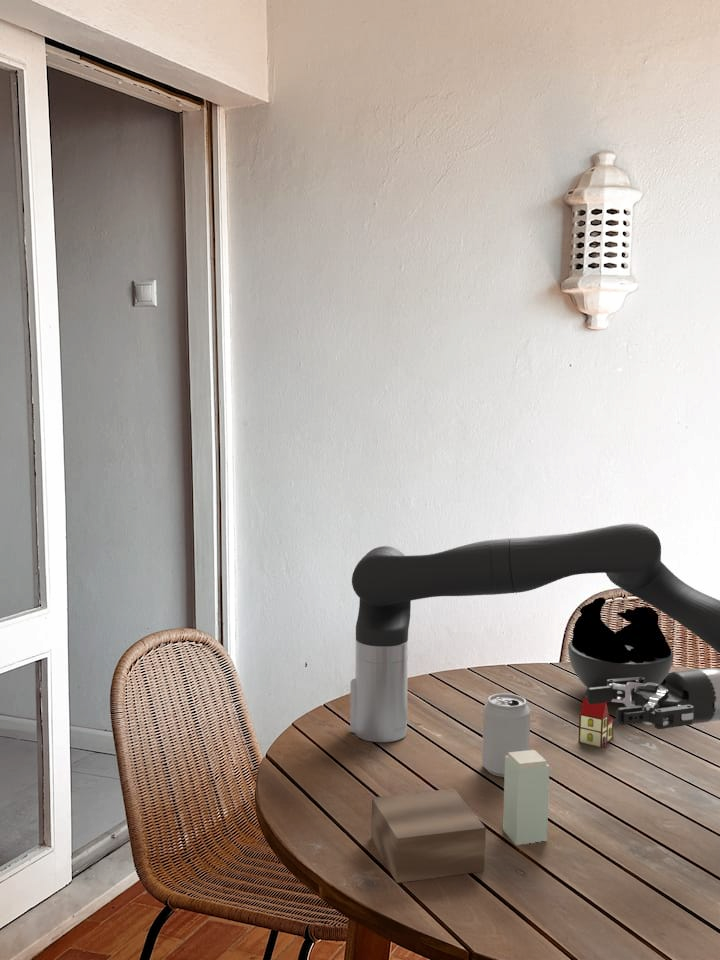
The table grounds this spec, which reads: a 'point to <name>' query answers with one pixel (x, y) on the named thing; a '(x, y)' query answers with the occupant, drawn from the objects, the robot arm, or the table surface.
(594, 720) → the toy house
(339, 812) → the table surface
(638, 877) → the table surface
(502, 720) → the can
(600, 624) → the coal bowl
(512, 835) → the sage tin
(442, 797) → the walnut block
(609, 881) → the table surface
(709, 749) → the table surface
